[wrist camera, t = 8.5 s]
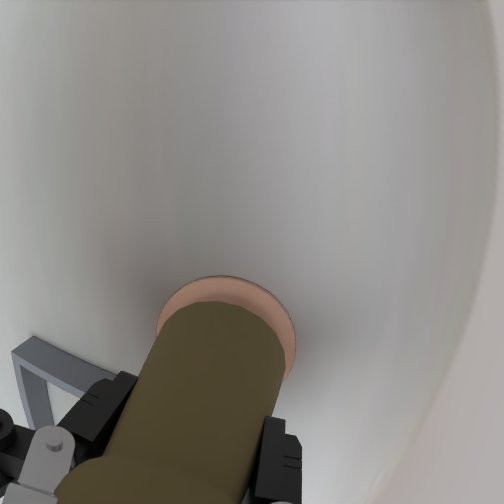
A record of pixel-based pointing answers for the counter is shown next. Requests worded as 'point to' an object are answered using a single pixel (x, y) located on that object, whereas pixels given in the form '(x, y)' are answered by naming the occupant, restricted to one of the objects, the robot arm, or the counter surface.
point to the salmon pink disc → (240, 295)
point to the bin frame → (49, 377)
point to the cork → (189, 414)
